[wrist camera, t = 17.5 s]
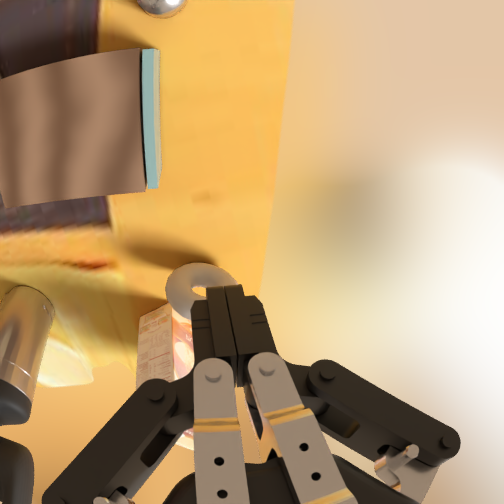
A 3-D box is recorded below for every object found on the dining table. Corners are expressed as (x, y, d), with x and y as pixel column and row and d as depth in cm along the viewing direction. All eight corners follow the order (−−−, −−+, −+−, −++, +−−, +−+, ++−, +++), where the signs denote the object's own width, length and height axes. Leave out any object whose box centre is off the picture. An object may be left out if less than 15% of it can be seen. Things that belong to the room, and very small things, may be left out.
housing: (27, 184, 30) (5, 208, 25) (12, 78, 22) (-17, 86, 17) (151, 168, 34) (145, 191, 28) (148, 50, 26) (138, 47, 20)
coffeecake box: (221, 346, 55) (239, 444, 39) (189, 359, 56) (200, 454, 40) (172, 299, 46) (178, 416, 30) (138, 316, 47) (133, 428, 31)
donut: (164, 273, 43) (163, 326, 35) (167, 253, 41) (166, 306, 33) (232, 280, 46) (243, 331, 38) (237, 261, 44) (251, 313, 36)
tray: (34, 182, 30) (13, 204, 25) (19, 77, 22) (-7, 84, 18) (161, 167, 34) (157, 188, 29) (159, 50, 26) (153, 48, 21)
